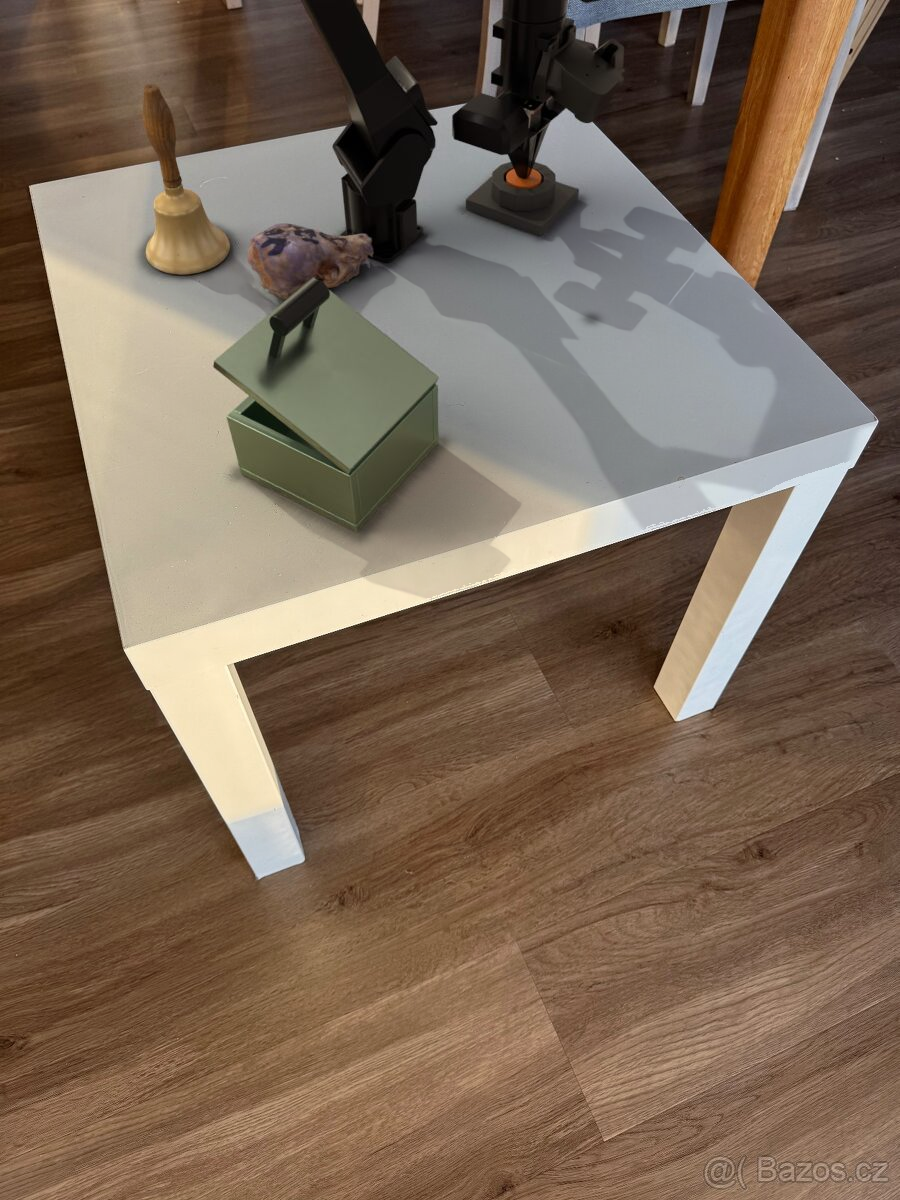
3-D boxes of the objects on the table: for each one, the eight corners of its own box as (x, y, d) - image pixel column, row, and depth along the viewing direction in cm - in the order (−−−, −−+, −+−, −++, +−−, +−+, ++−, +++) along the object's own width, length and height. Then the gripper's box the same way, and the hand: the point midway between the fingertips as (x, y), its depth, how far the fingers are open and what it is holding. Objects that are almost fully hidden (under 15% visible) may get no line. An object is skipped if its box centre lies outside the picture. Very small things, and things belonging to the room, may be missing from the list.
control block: (465, 209, 99) (465, 182, 96) (504, 174, 103) (505, 147, 100) (540, 236, 96) (543, 209, 94) (577, 199, 100) (581, 172, 98)
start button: (498, 195, 98) (499, 179, 97) (516, 179, 100) (517, 163, 98) (529, 206, 97) (530, 189, 96) (546, 189, 99) (547, 173, 97)
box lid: (212, 367, 68) (219, 322, 64) (311, 283, 74) (324, 237, 69) (348, 475, 68) (364, 437, 64) (436, 383, 74) (456, 343, 69)
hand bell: (222, 220, 98) (187, 57, 85) (237, 266, 93) (203, 101, 80) (141, 235, 96) (93, 71, 83) (152, 282, 92) (103, 117, 79)
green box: (240, 474, 77) (225, 416, 72) (327, 391, 82) (318, 332, 77) (357, 533, 73) (349, 476, 68) (438, 443, 79) (438, 384, 74)
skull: (367, 240, 95) (361, 188, 89) (386, 294, 91) (381, 243, 86) (249, 264, 93) (235, 213, 88) (263, 320, 90) (250, 270, 85)
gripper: (564, 76, 77) (548, 247, 90) (662, -7, 86) (634, 158, 99) (448, 42, 81) (449, 211, 93) (554, -35, 90) (541, 128, 103)
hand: (523, 176), depth 97 cm, fingers closed, pressing on start button
